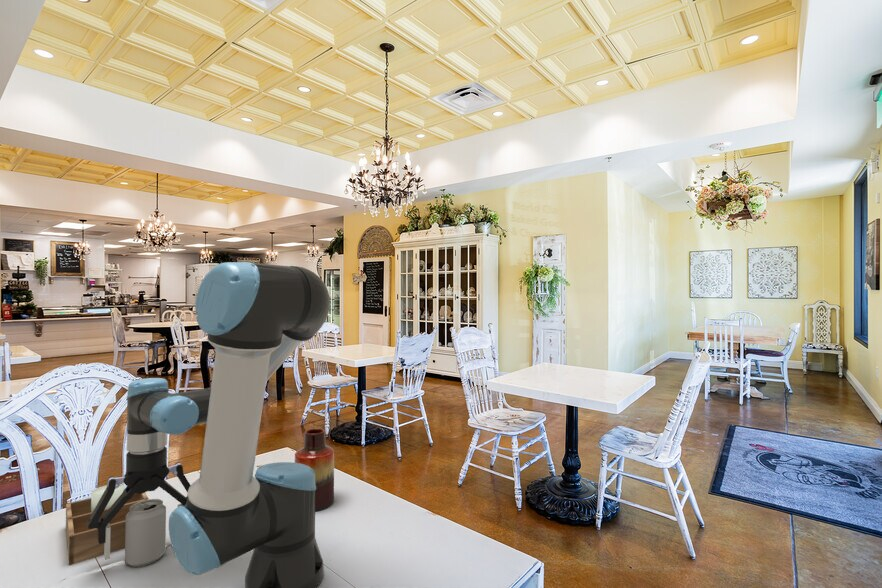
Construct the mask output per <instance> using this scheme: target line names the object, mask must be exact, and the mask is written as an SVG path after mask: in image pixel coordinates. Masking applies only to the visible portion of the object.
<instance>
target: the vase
mask: <svg viewBox="0 0 882 588" xmlns="http://www.w3.org/2000/svg"><path fill="white" fill-rule="evenodd" d="M303 440H304V441H303V447H301V448H299V449H297V450H296V452H295V453H294V463H300V464H304V465H307V466H309V467H310V468H312V469H313V471H314V473H315V485H316V494H315V513H316V512H320V511H323V510H326V509H328V508H330V507H331V506H332V505H333V504H334V500H335V450H334V449H333V447H331V446H329V445H327V444H326V432H325V429H323V428H311V429H309V428H308V429H307V430H305V431H304V439H303Z"/></svg>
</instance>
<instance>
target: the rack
mask: <svg viewBox="0 0 882 588" xmlns="http://www.w3.org/2000/svg"><path fill="white" fill-rule="evenodd" d="M144 500H149V497H148V495H147V492H145V493H142V494H137V493H135V494H134V495H133V496H132V497H131V498H130V499H129V500H128V501H127V502H126V503H125V505H124V506H123V507H122V508H121V509H120V511H119V512H118V513H117V514H116V515H115V517H114V518H113V519H112V520H111V521H110V523H109V524H110V527H111V530H110V554H111V553H114V552H118V551H121V550H125V527H126V515H127V514H128V512H129V508H130V507H131V506H132V505H134V504H136V503H138V502H141V501H144ZM108 509H109V508H107V509H105V510H104V511H103V513H102V515H101V517H100V519H101V518H102V516H103V515H104V514H105V513H106V512H107V511H108ZM92 513H93V512H91V497H89V498H85V499H79V500H75V501H72V502H71V501H70V502H67V503H65V535H66V544H67V545H66V548H67V558H68V566H73V565H76V564H79V563H82V562H86V561H88V560H92V559H95V558H99V557H102V556H104V543H102V544H99V542H98V529H97V528H93V529H89V528H88V524H87V522H88V520H89V518H90V516H91V514H92ZM100 519H99V520H100Z"/></svg>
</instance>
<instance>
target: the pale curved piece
mask: <svg viewBox="0 0 882 588" xmlns="http://www.w3.org/2000/svg"><path fill="white" fill-rule="evenodd" d="M106 488H107V484H106V485H101V486H99V487H96V488H95V489H93V490H91V493H90V495H91V496H90V498H91V512H93V511H94V509H95V507H96V505H97V504H98V502H99V500H100V498H101V497H102V495H103V493H104V491H105V490H106ZM124 489H125V484H124V483H121V484H120V486H119V487H118V488H116V489H115V491H114V493H113V495H112V497H111V499H110V501H109V502H108V504H107V506H106V508H105V509H107V508H110V507H111V506H112V505H113V504H114V502H115V501H116V500H117V499H118V498H119V496H120V495H121V494H122V493H123V491H124Z"/></svg>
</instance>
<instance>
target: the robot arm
mask: <svg viewBox="0 0 882 588" xmlns="http://www.w3.org/2000/svg"><path fill="white" fill-rule="evenodd" d="M195 298H196V299H195V305H194V306H195V308H194V309H195V313H196V314H197V315H196V322H197V325H198V326H199V329H200V330H202V331H203V332H204V333H205V334H207V339H206V340H207V342H208V343H209V344H210V345H211V346H212V347H213V348H214V349H215V356H214V363H213V371H212V379H211V380H212V381H211V385H210V386H211V387H206V388H201V389H193V390H188V391H187V390H186V391H181V392H177V393H172V392H171V393H170V392H169V390H170V388H169V381H168V380H167V379H165V378H164V377H163V378H162V377H149V378H141V379H135V380H132V381H131V382H129V384H128V387H127V394H126V401H127V402H126V405H127V406H126V408H127V409H126V410H127V411H126V451H127V453H126V456H125V457H126V459H125V460H126V461H125V473H124V476H119V477H118V476H117V477H115V476H114V475H113V476H112V475H111V476H109V477H108V478H107V484H106V485H107V488H106V490H105V491H104V493H103V495H102V497H101V498H100V500H99V502H98V504H97V505H96V507H95V509H94V511H93V513H92V514H91V516H90V518H89V520H88V522H87V524H88V528H89V529H93V528H97V529H98V542H99V544H102V543H104V555H103V556H104V559H105V561H107V560H110V559H111V553H110V530H111V527H110V524H109V523H110V521H111V520H112V519H113V518H114V517H115V515H116V514H117V513H118V512H119V511H120V509H121V508H122V507H123V506H124V505H125V503H126V502H127V501H128V500H129V499H130V498H131V497H132V496H133V495H134V494H135V493H137V494H142V493H147V492H154V491H156V490H157V489H158V488H161V489H162V490H163V491H164V492H166V493H167V494H169V496H171V497H172V498H174V499H175V500H176V501H178V502H179V503H178V504H177V508H175V509H173V511H172V512H171V513H170V515H169V518H168V532H169V539H170V543H171V546H172V549H173V552H174V554H175V557H176V559H177V560H178V563H179V564H180V566H181V567H182V568H183V570H185V572H187V573H188V574H191V575H192V576H193V575H194V576H201V575H203V574H205V573H208V572H210V571H213V570H214V569H219V568H220V567H222V566H223V565H225V564H227V563H229V562H231V561H233V560H235V559H237V558H238V557H239V558H240V557H241V556H243V555H245V554H246V553H247V554H248V552H251V551H252V550H253V552H252V556H251V558H250V560H249V563H248V566H247V567H248V568H247V570H246V574H245V577H244V588H318V586H320V584H321V582H322V581H323V579H324V560H323V556H322V554H321V551H320V548H319V546H318V543H317V542H318V541H317V538H316V512H315V494H316V485H315V473H314V471H313V469H312V468H310V467H309V466H307V465H304V464H300V463H295V462H290V461H289V462H288V461H283V462H282V461H281V462H280V461H279V462H271V463H267V464H264V465H261V466H259V467H258V468H257V469H256V470H255V474H254V469H255V464H256V463H255V462H256V454H257V450H258V442H259V434H260V428H261V423H262V414H263V408H264V407H263V406H264V400H265V393H266V386H267V382H268V380H269V379H270V378H271V377H272V376H273V375H274V374H275V373H276V371H277V370H278V369H279V368H280V367H281V366H282V365H283V364H284V363H285V361H286V360H287V359H288V358H289V357H290V356H291V354H292V353H293V352H294V351H296V349H297V348H298V347H299V346H300V344H301V343H303V342H307V341H310V340H312V338H314V336H315V335H316V334H317V333H318V332H319V330H320V329H321V328H322V327H323V326H324V324H325V322H326V320H327V318H328V315H329V312H330V309H331V308H330V306H331V298H330V292H329V290H328V287H327V285H326V284H325V282H324V281H323V280H322V278H321V277H320V276H319V275H318V274H316V273H315V272H314V271H312V270H310V269H308V268H305V267H303V266H297V265H296V266H294V265H279V264H268V263H258V262H250V261H248V262H247V261H242V262H241V261H240V262H239V261H237V262H236V261H233V262H231V261H229V262H228V261H227V262H221V263H219V264H216V265H215V266H213V267H212V268H211V269H210V270H209V271H208V272H207V273H206V275H204V277H203V279H202V281H201V282H200V284H199V287H198V291H197V294H196V297H195ZM203 424H206V425H205V433H204V440H203V448H202V456H201V464H200V470H199V471H200V472H199V477H198V478H197V479H196V480H195V481H194V482H192V484H191V483H190V482H189V481H188V479H187V477H186V475H185V474H184V468H183V467H184V466H183V465H182V463H181V462H179V461H177V462H175V463H174V464H173V465H170V466H168V463H167V462H168V461H167V460H168V459H167V458H168V457H167V456H168V449H167V445H168V435H174V436H176V435H177V436H178V435H181V434H185V433H186V432H188V431H189V430H191V429H192V428H193V427H194V426H197V425H203ZM169 473H171V474H172V475H173V476H176V477H177V478H178V480H179V481H180V484H181V485H182V486H183V488H184V489H185V491H186V493H187V495H184V494H182V493H181V492H180V491H179V490H177V489H176V488H175V487H173V485H171V484H170V483H168V482H167V480H165V479H166V478H167V477H168V475H169ZM120 484H123V485H124V486H125V487H124V491H123V493H122V494H121V495H120V496H119V498H118V499H117V500H116V501H115V502H114V504H113V505H112V506H111V507H110V508H109V509H108V511H107V512H106V513H105V514H104V515H103V516H102V518H101V519H100V517H101V515H102V513H103V511H104V510H105V508H106V506H107V504H108V502H109V501H110V499H111V497H112V495H113V493H114V491H115V489H116V488H118V487H119V486H120ZM99 519H100V520H99Z"/></svg>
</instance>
